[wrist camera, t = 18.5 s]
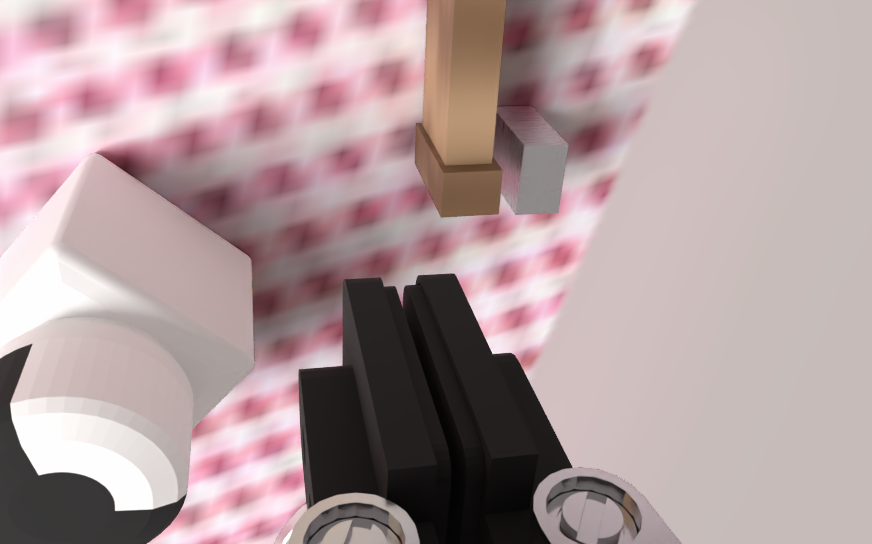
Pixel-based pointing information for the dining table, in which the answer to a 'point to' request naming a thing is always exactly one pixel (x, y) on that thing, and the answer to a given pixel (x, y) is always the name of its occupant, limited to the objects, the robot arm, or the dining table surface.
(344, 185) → the dining table surface
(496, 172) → the tan wooden plank
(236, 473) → the dining table surface
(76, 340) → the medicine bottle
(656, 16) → the dining table surface
